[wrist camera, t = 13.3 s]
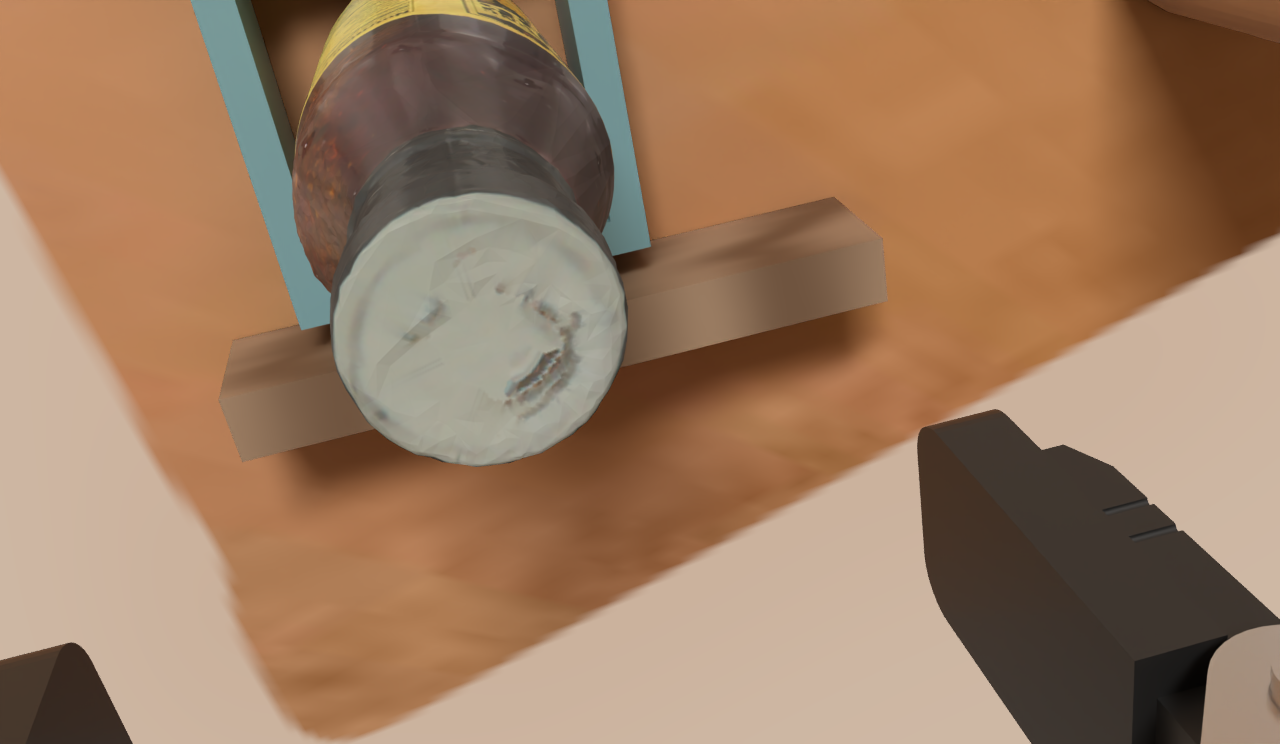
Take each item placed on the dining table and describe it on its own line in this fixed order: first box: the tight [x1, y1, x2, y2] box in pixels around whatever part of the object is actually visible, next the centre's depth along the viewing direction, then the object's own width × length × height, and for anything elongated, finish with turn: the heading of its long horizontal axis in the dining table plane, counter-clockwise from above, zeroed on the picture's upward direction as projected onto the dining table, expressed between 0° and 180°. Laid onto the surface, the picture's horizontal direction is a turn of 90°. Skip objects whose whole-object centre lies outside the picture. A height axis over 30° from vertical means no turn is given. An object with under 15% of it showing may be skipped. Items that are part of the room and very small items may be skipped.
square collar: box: [191, 0, 651, 330], centre depth 32 cm, size 10×11×3 cm
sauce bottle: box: [292, 0, 628, 467], centre depth 25 cm, size 6×6×20 cm
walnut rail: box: [219, 197, 888, 462], centre depth 35 cm, size 19×2×4 cm, turn 100°
